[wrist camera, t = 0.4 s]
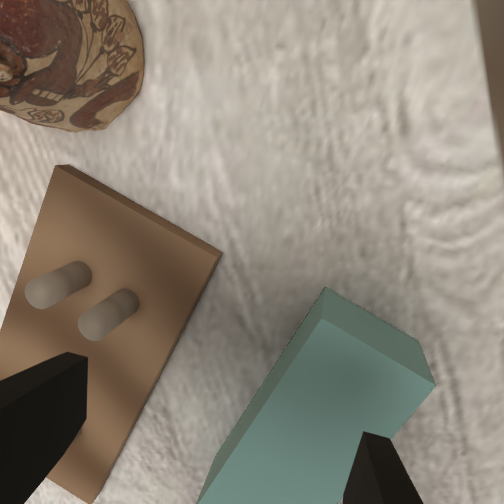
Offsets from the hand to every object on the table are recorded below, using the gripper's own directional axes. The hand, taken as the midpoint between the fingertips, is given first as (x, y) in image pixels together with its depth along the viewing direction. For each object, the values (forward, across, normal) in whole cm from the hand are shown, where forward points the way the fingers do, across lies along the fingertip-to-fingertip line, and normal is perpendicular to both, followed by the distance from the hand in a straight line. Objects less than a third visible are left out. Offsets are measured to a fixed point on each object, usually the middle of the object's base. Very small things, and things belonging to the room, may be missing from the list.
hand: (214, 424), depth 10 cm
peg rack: (+10, +10, +7) cm, 15 cm away
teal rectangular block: (+10, -3, +6) cm, 12 cm away
